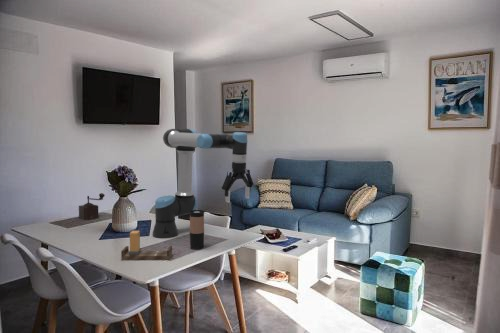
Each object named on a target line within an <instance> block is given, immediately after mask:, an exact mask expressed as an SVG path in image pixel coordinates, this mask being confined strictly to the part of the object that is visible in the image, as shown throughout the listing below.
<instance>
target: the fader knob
mask: <svg viewBox="0 0 500 333" xmlns="http://www.w3.org/2000/svg"><path fill="white" fill-rule="evenodd" d="M141 251H142V248H141V231H140V230H132V231H131V232H130V233H129V255H138V254H139V253H140V252H141Z"/></svg>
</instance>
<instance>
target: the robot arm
mask: <svg viewBox="0 0 500 333" xmlns="http://www.w3.org/2000/svg"><path fill="white" fill-rule="evenodd" d="M162 141H163V143H164V144H165V145H166V146H167V147H168V148H171V149H176V150H175V151H176V152H177V153H178V166H177V168H178V169H177V173H178V174H177V191H176V192H175V194H174V195H163V196H160V197H157V198H156V199H155V205H154V209H155V211H154V213H155V217H154V218H155V223H154V227H153V231H152V236H153V237H154V238H158V239H167V238H174V237H177V236H178V235H179V230H178V228H177V224H176V217H181V216H187V215H190V211H192V210H197V209H198V200H197V197H196V196H195V194H194V192H193V191H192V188H193V187H192V186H193V184H192V182H193V178H192V177H193V157H194V156H193V154H194V153H196V148H198V149H199V148H200V149H204V150H207V149H230V150H232V153H231V154H232V156H231V160H232V162H231V170H232V171H227V174H226V177H225V179H224V181H223V184H222V186H221V189H222V190H223V191H224V197H225V201H224V202H226V203H228V204H230V203H231V201H230V200H231V190H230V189H231V187H232V186H233V184H234V183H235V182H236V181H237V180H242V181H243V183H245V186H244V187H245V188H244V189H245V191H244V193H245V194H244V198H245V199H246V200H247V199H248V200H249V199H250V193H251V188H252V187H253V186H254V185H255V183H254V182H253V181H254V180H253V178H252V176H251V175H252V174H251V172H250V171H251V170H250V169H247V155H248V153H247V149H248V134H247V133H246V132H240V131H235V132H233V134H227V133H219V134H218V133H215V134H214V133H199V132H198V133H197V131H196V130H195V129H191V128H171V129H168V130H166V131H165V132H164V134H163V137H162Z"/></svg>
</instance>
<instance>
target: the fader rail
mask: <svg viewBox="0 0 500 333" xmlns="http://www.w3.org/2000/svg"><path fill="white" fill-rule="evenodd" d="M129 251H130V245H126V246H124V247H123V249H122V250H121V251H120V252H121V254H120V255H121V261H170V260H171V258H172V256H173V245H169V247H168V248H167V250H141V252H140V253H139V254H138V255H129Z"/></svg>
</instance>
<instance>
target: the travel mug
mask: <svg viewBox="0 0 500 333" xmlns="http://www.w3.org/2000/svg"><path fill="white" fill-rule="evenodd" d="M204 243H205V211H204V210H201V209H196V210H192V211H190V214H189V246H190V247H189V248H190V249H191V250H196V251H197V250H202V249H204V246H205V244H204Z"/></svg>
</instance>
